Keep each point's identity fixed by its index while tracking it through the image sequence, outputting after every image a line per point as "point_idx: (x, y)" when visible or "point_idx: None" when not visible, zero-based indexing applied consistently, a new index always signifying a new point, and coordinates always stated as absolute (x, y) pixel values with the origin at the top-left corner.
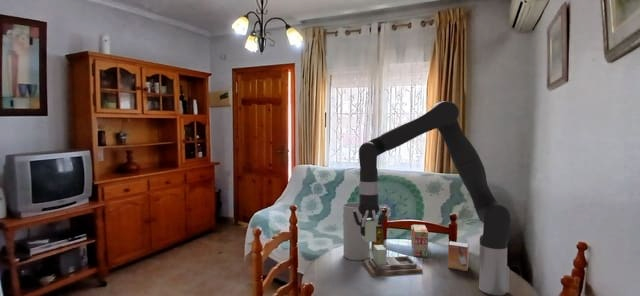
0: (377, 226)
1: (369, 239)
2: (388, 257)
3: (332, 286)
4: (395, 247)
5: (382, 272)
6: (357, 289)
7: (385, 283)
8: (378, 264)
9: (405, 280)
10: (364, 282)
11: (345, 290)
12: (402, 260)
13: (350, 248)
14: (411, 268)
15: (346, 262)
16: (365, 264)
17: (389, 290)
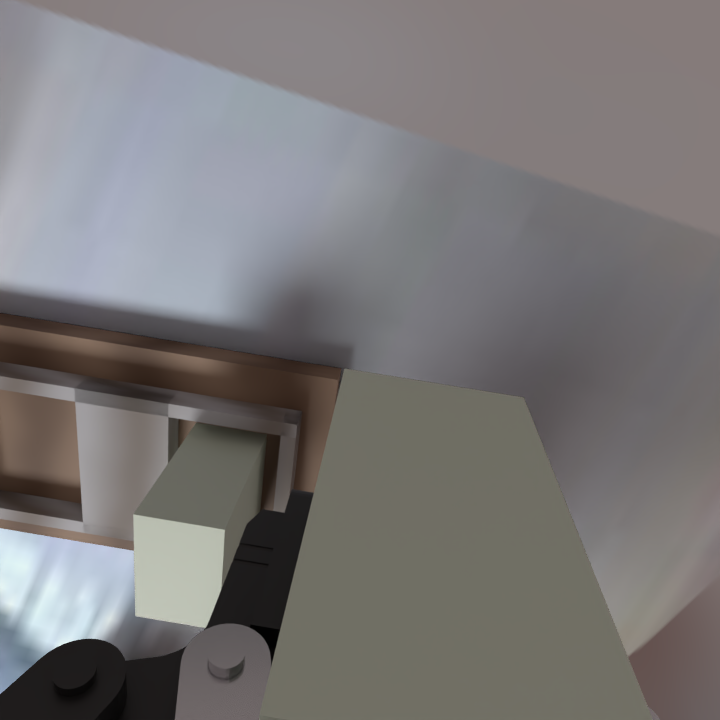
0: (207, 628)
1: (467, 409)
2: (125, 534)
3: (713, 309)
4: None
5: (257, 365)
6: (557, 201)
7: (297, 228)
8: (252, 449)
9: (125, 227)
10: (446, 294)
11: (656, 215)
12: (33, 491)
13: None
14: (12, 352)
15: None
16: None
17: (320, 102)
